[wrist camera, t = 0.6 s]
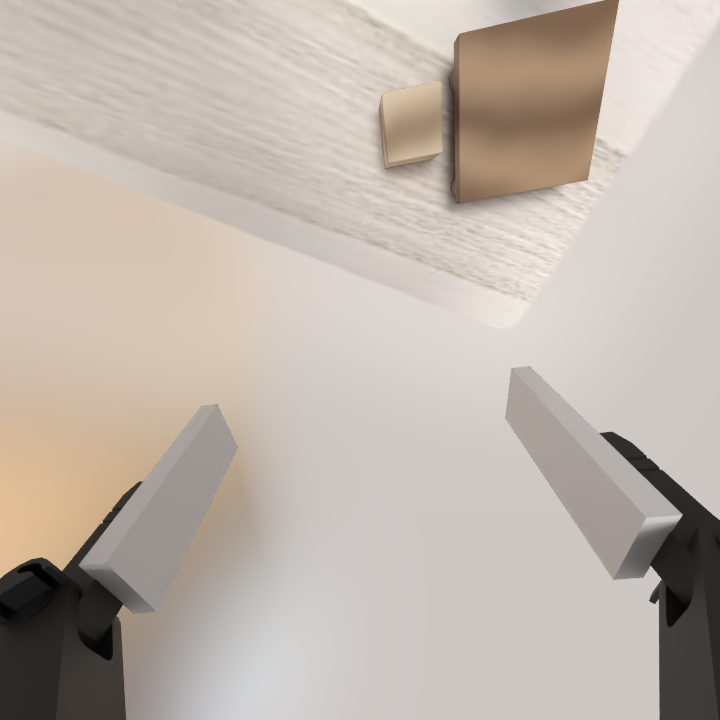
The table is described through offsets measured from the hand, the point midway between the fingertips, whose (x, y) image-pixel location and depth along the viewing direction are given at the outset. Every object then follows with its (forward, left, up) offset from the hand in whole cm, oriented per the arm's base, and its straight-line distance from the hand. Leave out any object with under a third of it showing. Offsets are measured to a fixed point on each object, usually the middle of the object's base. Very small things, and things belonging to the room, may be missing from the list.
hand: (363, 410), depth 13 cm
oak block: (-14, +7, -27) cm, 31 cm away
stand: (-13, +17, -27) cm, 34 cm away
